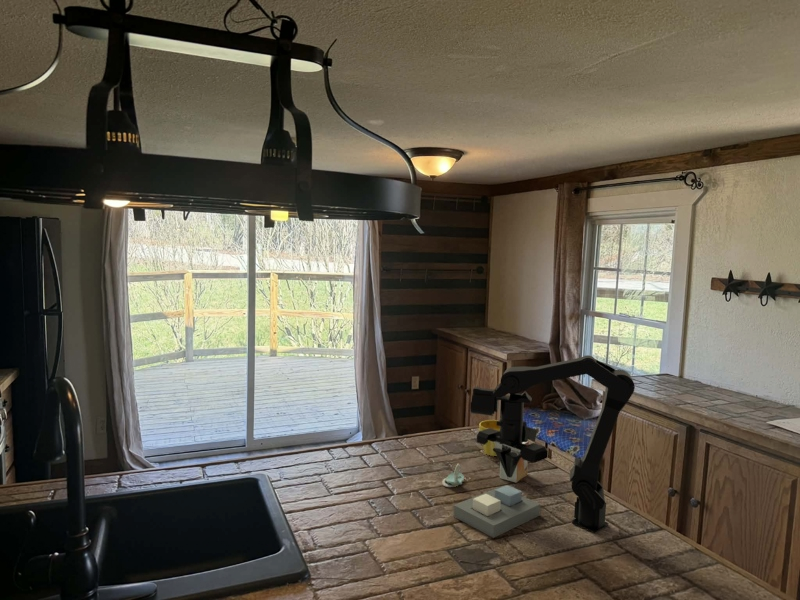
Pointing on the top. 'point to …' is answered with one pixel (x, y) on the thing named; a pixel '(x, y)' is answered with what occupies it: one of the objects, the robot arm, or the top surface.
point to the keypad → (497, 515)
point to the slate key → (508, 495)
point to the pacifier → (454, 478)
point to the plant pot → (490, 445)
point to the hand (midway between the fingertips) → (509, 476)
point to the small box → (516, 470)
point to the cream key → (486, 504)
